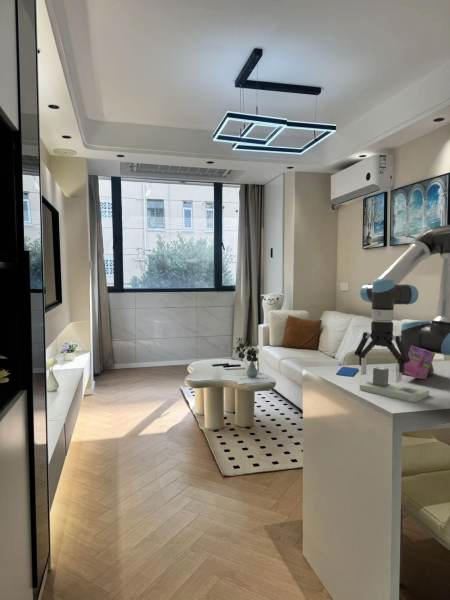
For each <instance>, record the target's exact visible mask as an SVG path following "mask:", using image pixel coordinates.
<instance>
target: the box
mask: <svg viewBox="0 0 450 600" xmlns="http://www.w3.org/2000/svg"><path fill="white" fill-rule="evenodd" d="M435 355H436V353H433V352H430V351H427V350H424V349H422V348H418V347H415V346H412V345H411V348H410V350H409V353H408V356H409V358H410V362H408V363H405V367H404V372H403V373H405V374H407V375H406V376H410V377H412V378H417V379H419V380H420V379H422V380H426V379H427V377H428V376H427V374H428V371H429V368H430V366H431V363H432V364H433V360H434V357H435ZM405 374H404V375H405Z"/></svg>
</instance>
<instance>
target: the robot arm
mask: <svg viewBox="0 0 450 600" xmlns="http://www.w3.org/2000/svg"><path fill="white" fill-rule="evenodd" d="M435 254H436V255H437V254H439V257H441V259H442V260H443V261H442V269H441V276H440V277H441V278H440V285H439V291H438V300H437V308H436V315H435V317H434V318H433V319H432V320H418V321H417V320H414V321H413V320H411V321H404V322H403V323H401V330H400V335H394V334H393V333H394V322H393V321H394V308H395V307H394V306H395V305H411V304H414V303H416V302H417V301H418V299H419V290H418V289H417V287H416V286H415V285H413V284H407V283H406V284H400V283H401V282H402V281H403V280H404V279H405V278H406V277H407V276H408V275H409V274H410V273H411V272H412V271H413V270H414V269H416V267H417V266H418V265H419V264H421V262H423V260H428V259H429V258H430V257H431V256H432V255H433V256H434V255H435ZM359 293H360V294H359V295H360V298H361V299H362V300H363V302H366V303H371V320H372V321H371V324H370V329H371V331H370V332H369V331H364V332H363V334H362V338H361V340H360V342H359V344H358V346H357V348H356V349H355V352H354V355H355V356H358V361H359V366H360V376H363V375H364V376H365V375H367V363H368V362H367V359H368V357H367V356H366V355H367V354H368V353H369V352H370V351H372V349H373V348H375V346H376V347H379V346H381V347H383V348H384V347H386V348H387V349H389V351H390V352H391V354H392V355H393V356H394V358H395V359H396V361H397V363H396V365H395V373H396V377H395V379H396V380H395V383H400V382H402V380H403V379H402V378H403V376H402V375H404V376H408V375H407V374H405V373H403V372H404V367H405V363H408V362H410V358H409V356H408V353H409V350H410V348H411V345H412V346H415V347H418V348H422V349H424V350H427V351H430V352H433V353H435V354H439V355H443V356H450V224H447V225H438V226H434V227H431V228H429V229H428V230H426V231H424V232H422V233H420V234H419V235H418V236H416V238H414V240H412V241H411V242H410V243H409V245H408V248H407V250H405V252H403V253H402V254H401V255H400V256H399V257H398V258H397V259H396V260H395V261H394V262H393V263H392V264H391V265H390V266H389V267H388V268H387V269H386V270H385V271H384V272H383V273H382V274H381V275H380V276H378V278H376V279H373V281H372V283H366V284H364V285H362V286H361V288H360V291H359ZM369 339H371V341H370V342H369V343H368V345H367V346H366V344H367V342H368V340H369ZM393 341H394V342H395V344H396V346H397V348H396V347H395V344H394V343H393ZM434 375H435V369H434V366H433V362H432V363H431V366H430V368H429V371H428V374H427V377H432V376H434Z"/></svg>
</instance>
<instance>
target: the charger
mask: <svg viewBox="0 0 450 600" xmlns="http://www.w3.org/2000/svg"><path fill="white" fill-rule="evenodd" d="M372 380H373V385H376V386H380V387H386V386H388V382H389V368H387V367H380V366H377V367H374V368H373V370H372Z"/></svg>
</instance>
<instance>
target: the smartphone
mask: <svg viewBox="0 0 450 600" xmlns="http://www.w3.org/2000/svg"><path fill="white" fill-rule="evenodd" d="M358 371H359V368H358V367H349V366H348V367H347V366H342V367H340V369H339V370H338V371H337V372H336V373H335V375H336V376H343V377H354V376H355V375H356V374H357V372H358Z"/></svg>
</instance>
